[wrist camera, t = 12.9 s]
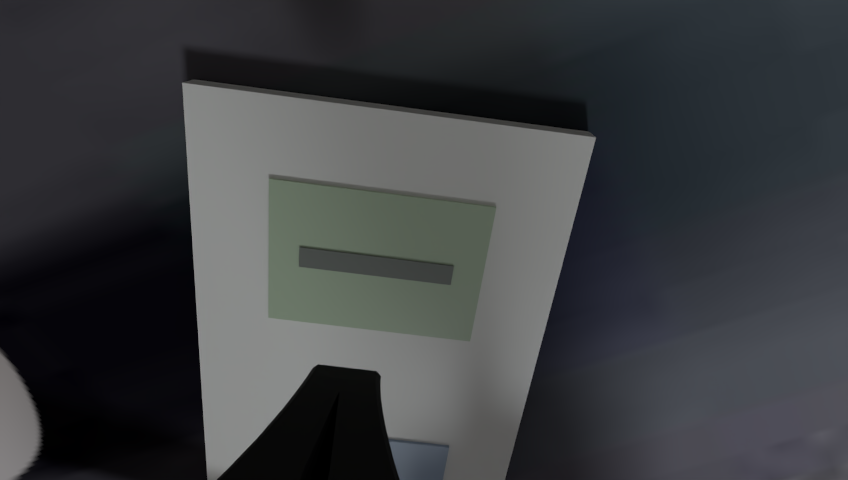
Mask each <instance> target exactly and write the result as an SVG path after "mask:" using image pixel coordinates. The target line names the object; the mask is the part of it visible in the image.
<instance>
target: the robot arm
mask: <svg viewBox="0 0 848 480" xmlns="http://www.w3.org/2000/svg"><path fill="white" fill-rule="evenodd" d="M380 382H381V376H380V374H379V373H378V372H377V371H372V370H363V369H355V368H346V367H337V366H328V365H320V364H318V365H316V366H315V367H313V368H312V370H311V371H310V373H309V374H308V376H307V377H306V379H305V380H304V381H303V383H302V384H301V386H300V387H299V388H298V390H297V391H296V392H295V394H294V395H293V396H292V397H291V399H290V400H289V401H288V403H287V404H286V405H285V406H284V408H283V409H282V410H281V411H280V412H279V413H278V415H277V416H276V417H275V418H274V419H273V420H272V422H271V423H270V424H269V425H268V426H267V427H266V429H265V430H264V431H263V432H262V433H261V434H260V435H259V437H258V438H257V439H256V440H255V441H254V442H253V443H252V444H251V445H250V446H249V447H248V448H247V449H246V450H245V451H244V452H243V453H242V454H241V456H240V457H239V458H238V459H237V460H236V461H235V462H234V463H233V464H232V465H231V466H230V467H229V468H228V469H227V470H226V471H225V472H224V473H223V474H222V475H221V476H220V477H219V478H218V479H217V480H400V479H399V476H398V473H397V469H396V466H395V462H394V459H393V455H392V451H391V447H390V443H389V439H388V435H387V431H386V426H385V421H384V415H383V409H382V402H381V389H380Z"/></svg>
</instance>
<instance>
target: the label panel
mask: <svg viewBox="0 0 848 480" xmlns="http://www.w3.org/2000/svg"><path fill="white" fill-rule="evenodd" d="M182 86H183V102H184V118H185V133H186V149H187V165H188V181H189V197H190V212H191V228H192V244H193V260H194V275H195V291H196V307H197V323H198V339H199V354H200V370H201V386H202V402H203V418H204V433H205V449H206V465H207V480H217V479H218V478H219V477H220V476H221V475H222V474H223V473H224V472H225V471H226V470H227V469H228V468H229V467H230V466H231V465H232V464H233V463H234V462H235V461H236V460H237V459H238V458H239V457H240V456H241V454H242V453H243V452H244V451H245V450H246V449H247V448H248V447H249V446H250V445H251V444H252V443H253V442H254V441H255V440H256V439H257V438H258V437H259V435H260V434H261V433H262V432H263V431H264V430H265V429H266V427H267V426H268V425H269V424H270V423H271V422H272V420H273V419H274V418H275V417H276V416H277V415H278V413H279V412H280V411H281V410H282V409H283V408H284V406H285V405H286V404H287V403H288V401H289V400H290V399H291V397H292V396H293V395H294V394H295V392H296V391H297V390H298V388H299V387H300V386H301V384H302V383H303V381H304V380H305V379H306V377H307V376H308V374H309V373H310V371H311V370H312V368H313V367H315V366H316V365H318V364H320V365H328V366H337V367H346V368H355V369H363V370H372V371H377V372H378V373H379V374H380V376H381V382H380V389H381V402H382V409H383V415H384V421H385V426H386V431H387V435H388V439H389V443H390V447H391V451H392V455H393V459H394V462H395V466H396V469H397V473H398V476H399V479H400V480H505V478H506V474H507V470H508V467H509V463H510V459H511V455H512V452H513V448H514V444H515V440H516V436H517V433H518V429H519V425H520V421H521V418H522V414H523V410H524V406H525V403H526V399H527V395H528V391H529V388H530V384H531V380H532V376H533V373H534V369H535V365H536V361H537V357H538V354H539V350H540V346H541V342H542V339H543V335H544V331H545V327H546V324H547V320H548V316H549V312H550V309H551V305H552V301H553V297H554V294H555V290H556V286H557V282H558V278H559V275H560V271H561V267H562V263H563V260H564V256H565V252H566V248H567V245H568V241H569V237H570V233H571V230H572V226H573V222H574V218H575V215H576V211H577V207H578V203H579V199H580V196H581V192H582V188H583V184H584V181H585V177H586V173H587V169H588V166H589V162H590V158H591V154H592V151H593V147H594V143H595V139H596V137H595V136H594V135H592V134H591V133H590V132H588V131H580V130H573V129H565V128H558V127H550V126H543V125H535V124H528V123H520V122H513V121H505V120H497V119H490V118H482V117H475V116H467V115H460V114H452V113H445V112H437V111H430V110H422V109H414V108H407V107H399V106H392V105H384V104H377V103H369V102H362V101H354V100H347V99H339V98H331V97H324V96H316V95H309V94H301V93H294V92H286V91H279V90H271V89H264V88H256V87H248V86H241V85H233V84H226V83H218V82H211V81H203V80H196V79H194V80H190V81H187V82H183V83H182Z"/></svg>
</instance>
